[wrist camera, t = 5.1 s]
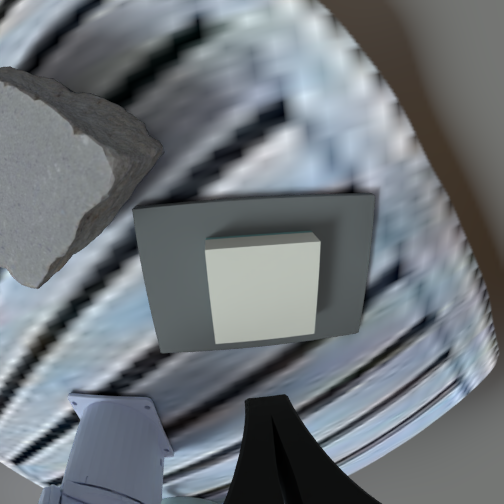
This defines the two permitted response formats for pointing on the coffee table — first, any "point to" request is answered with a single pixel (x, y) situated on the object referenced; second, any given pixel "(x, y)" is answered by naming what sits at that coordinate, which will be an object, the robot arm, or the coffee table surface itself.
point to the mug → (186, 500)
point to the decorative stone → (62, 171)
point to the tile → (263, 285)
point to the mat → (248, 223)
